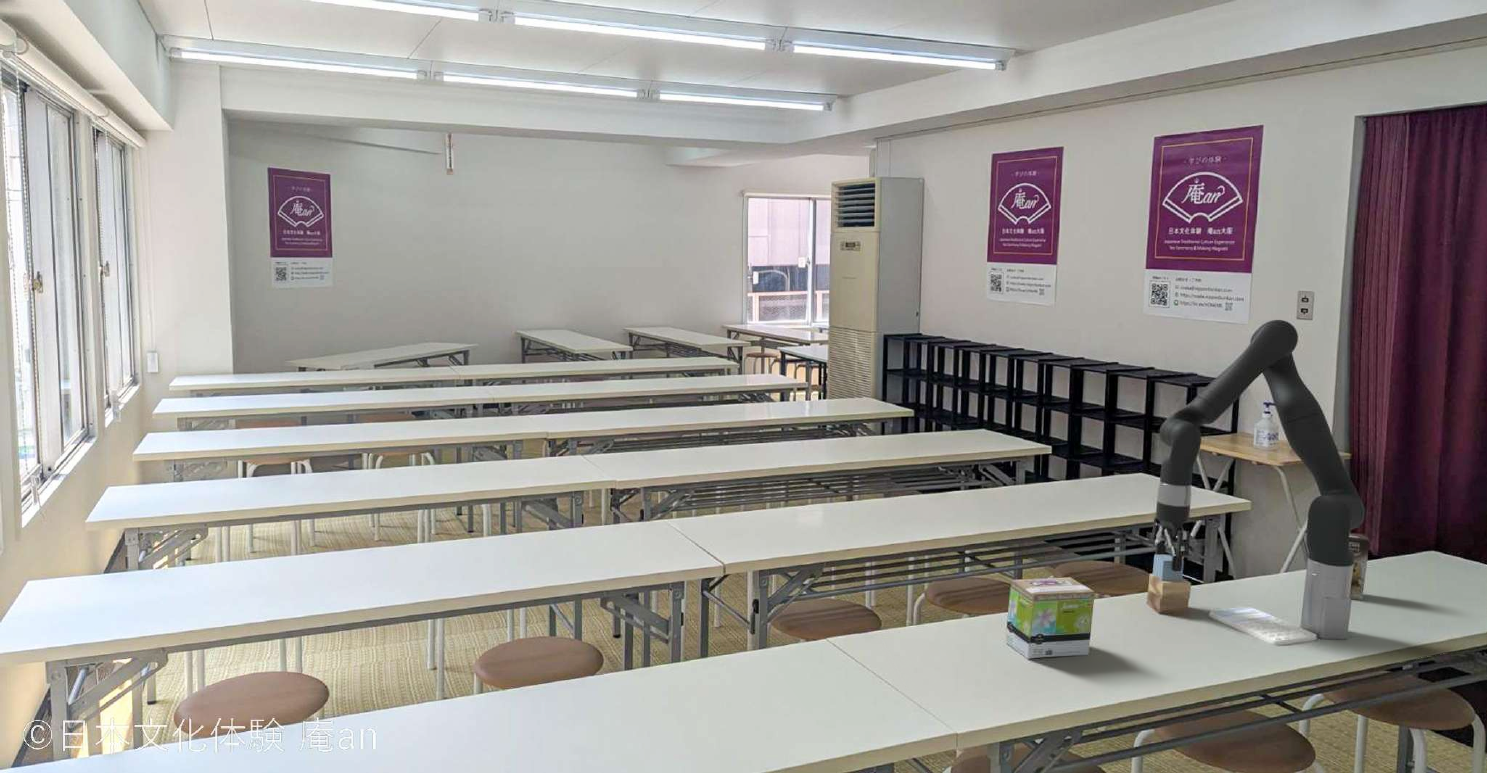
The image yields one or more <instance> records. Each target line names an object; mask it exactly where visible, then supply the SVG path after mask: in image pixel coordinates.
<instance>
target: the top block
mask: <svg viewBox="0 0 1487 773" xmlns="http://www.w3.org/2000/svg"><path fill="white" fill-rule="evenodd" d="M1191 586H1192V582H1191V581H1188V580H1187V579H1185V578H1184V577H1183V576H1182V581H1162V580H1160V579H1159V578H1158V577H1156V576H1155V575H1153V573H1149V579H1148V589H1149V590H1150V591H1152V592H1153V593H1154V594H1156V595H1157V596H1159V597H1160V598H1161V599H1189V600H1190V597H1191V589H1192V587H1191Z"/></svg>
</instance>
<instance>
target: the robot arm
mask: <svg viewBox="0 0 1487 773" xmlns="http://www.w3.org/2000/svg"><path fill="white" fill-rule="evenodd" d="M1298 342H1299V334H1298V331H1297V329H1296V328H1295V326H1294V325H1293V324H1291V323H1290V322H1288V321H1286V320H1282V319H1274V320H1270V321H1267V322H1265V323H1263V324H1262V325H1261V326H1259V327H1258V328H1257V329H1256V330H1255V331H1254V332H1253V334H1252V335H1251V338H1250V342H1249V345H1247V347H1246V348H1245V349H1244V351H1243V352H1242V353H1241V354H1240V355H1239V356H1238V357H1237V358H1236V360H1234V361H1233V362H1232V363H1231V364H1230V365H1229V366H1228V367H1227V368H1225V369H1224V370H1223V371H1222V372H1221V373H1220V374H1219V375H1218V376H1216V378H1214V379H1213V380H1212V381H1211V382H1210V383H1209V384H1207V386H1205V388H1204V389H1202V390H1201V392H1200V393H1198V395H1196V396H1195V397H1194V399H1192V401H1191V402H1189V403H1188V404H1186V405H1185V406H1183V407H1181V408H1179V409H1178V410H1177V411H1175V412H1174V413H1172V414H1171V415H1170V416H1168V417H1167V418H1166V419H1165V420H1164V422H1162V425H1161V426H1160V428H1159V434H1158V435H1159V438H1160V440H1161V441H1162V443H1164V444H1165V446H1168V447H1170V448H1171V450H1170V454H1169V457H1166V458H1164V459H1163V460H1162V463H1161V467H1160V468H1161V469H1160V477H1159V486H1158V489H1157V498H1156V510H1155V511H1156V512H1155V517H1154V519H1153V523H1152V524H1153V525H1152V532H1151V540H1152V541H1154V544H1155V555H1167V546H1166V545H1167V544H1168V548H1170V549H1171V555H1173V556H1172V565H1171V570H1173V571H1181V568H1182V560H1183V558H1184V557H1188V556H1189V553H1190V552H1189V550H1190V539H1191V538H1190V536H1191V534H1190V531H1188V530H1184V526H1183V525H1184V524H1185V523H1188V522H1189V521H1190V512H1191V504H1192V503H1191V502H1192V480H1193V479H1192V478H1193V468H1194V465H1195V463H1196V461H1197V458H1198V455H1199V452H1200V448H1201V444H1202V433H1201V430H1200V429H1199V428H1200V427H1201V426H1204V425H1210V424H1213V423H1215V422H1216V421H1217V420H1218V419H1219V418H1220V417H1221V416H1222V415H1223V414H1224V413H1226V411H1227V410H1228V409H1230V407H1231V406H1232V405H1233V404H1234V403H1235V402H1236V401H1237V400H1238V399H1239V398H1240V397H1241V395H1242V394H1243V393H1244V392H1245V391H1246V390H1247V389H1248V388H1249V387H1250V386H1251V385H1252V384H1253V382H1254V381H1255V380H1256V379H1258V377H1259V376H1260V375H1261V374H1262V375H1263V377H1264V379H1265V381H1266V384H1267V386H1268V388H1269V392H1270V395H1271V398H1272V402H1273V405H1274V407H1275V409H1276V412H1277V415H1278V416H1277V417H1278V418H1279V421H1280V425H1281V427H1282V431H1283V432H1284V435H1285V437H1286V440H1287V443H1288V444H1289V446H1290V447H1291V449H1292V450H1293V452H1294V453H1295V454H1296V456H1297V457H1298V458H1299V460H1300V461H1301V462H1302V464H1304V465H1305V467H1306V468H1307V469H1308V470H1309V471H1310V474H1312V476H1313V479H1314V482H1315V483H1316V485H1317V488H1318V491H1319V495H1318V496H1317V497H1315V498H1314V499H1313V500H1312V501H1311V503H1310V504H1309V508H1308V513H1307V524H1306V526H1307V527H1306V536H1305V537H1306V539H1305V540H1306V542H1305V543H1306V547H1307V551H1308V555H1307V561H1306V572H1305V580H1304V587H1303V588H1304V590H1303V598H1302V608H1301V615H1300V616H1301V618H1300V626H1299V627H1300V628H1302V629H1305V630H1307V631H1310V632H1312V633H1314V634H1316V636H1317V637H1318V638H1320V639H1323V640H1324V639H1327V640H1329V639H1331V640H1333V639H1334V640H1335V639H1337V640H1339V639H1341V640H1344V639H1345V640H1346V639H1348V633H1349V627H1350V626H1349V624H1350V618H1351V616H1350V615H1351V610H1352V609H1351V607H1352V599H1350V598H1349V597H1350V589H1351V580H1352V572H1353V564H1354V552H1353V551H1352V550H1350V549H1349V533H1351V531H1353V530H1355V529H1358V528H1359V527H1360V526H1361V525H1362V524H1363V522H1364V520H1365V515H1366V512H1365V511H1366V510H1365V505H1364V503H1363V501H1362V499H1361V497H1360V495H1359V493H1358V491H1357V489H1356V487H1355V486H1354V484H1353V482H1352V480H1351V478H1350V477H1349V476H1350V475H1348V472H1347V470H1346V468H1345V465H1344V463H1343V461H1342V457H1341V455H1340V452H1339V450H1338V447H1337V445H1336V442H1335V440H1334V438H1333V433H1332V432H1331V429H1330V426H1329V423H1328V420H1327V418H1326V416H1325V413H1324V410H1323V408H1322V407H1321V405H1320V404H1319V401H1318V400H1317V398H1316V397H1315V396H1314V394H1313V393H1312V392H1311V390H1310V389H1309V388H1308V387H1307V385H1306V384H1305V382H1304V381H1303V380H1302V377H1301V376H1300V374H1299V372H1298V369H1297V368H1298V367H1297V365H1296V363H1295V359H1294V355H1293V352H1294V351H1295V349H1296V348H1297V345H1298Z"/></svg>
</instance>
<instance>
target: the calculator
mask: <svg viewBox="0 0 1487 773" xmlns="http://www.w3.org/2000/svg"><path fill="white" fill-rule="evenodd" d="M1208 616H1209V617H1210V618H1211V619H1214V620H1216V621H1218V622H1221V623H1223V624H1226V625H1227V626H1230V627H1232V628H1234V629H1236V630H1239V631H1241V632H1243V633H1246V634H1248V635H1249V636H1252V637H1255V638H1256V639H1259V640H1261V641H1264V642H1266V643H1268V644H1270V645H1272V646H1283V645H1293V644H1297V643H1304V642H1312V641H1316V640H1317V637H1318V636H1316V634H1314V633H1312V632H1310V631H1307V630H1305V629H1302V628H1300V626H1297V625H1294V624H1292V623H1290V622H1288V621H1285V620H1283V619H1281V618H1278V617H1276V616H1273V615H1270V614H1268V613H1266V612H1264V611H1261V610H1258V609H1256V608H1254V607H1250V606H1240V607H1233V608H1225V609H1216V610H1211V611H1209V613H1208Z"/></svg>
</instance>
